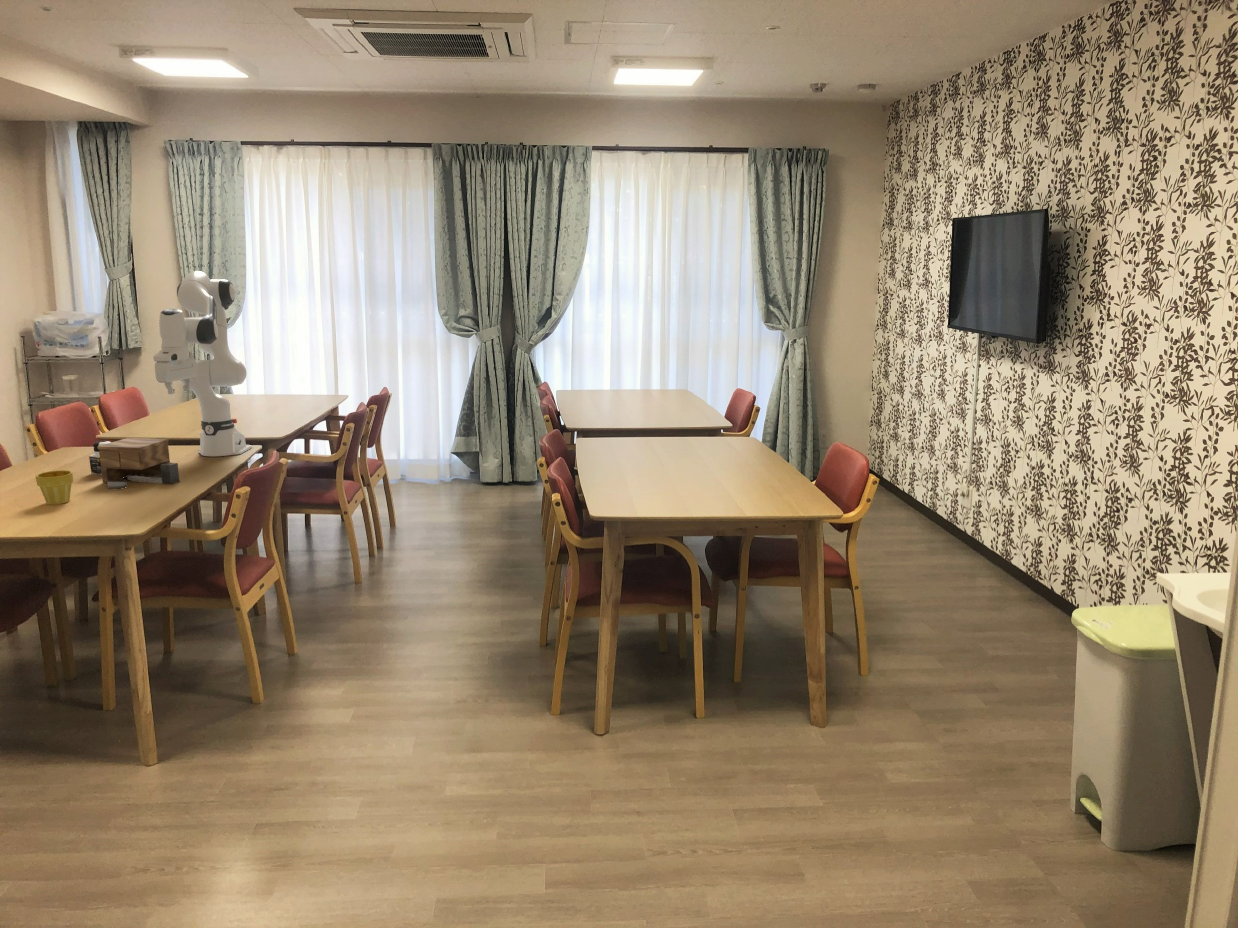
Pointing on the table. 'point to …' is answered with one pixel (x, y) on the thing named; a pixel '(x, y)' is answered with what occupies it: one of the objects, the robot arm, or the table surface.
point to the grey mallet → (167, 475)
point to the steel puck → (117, 484)
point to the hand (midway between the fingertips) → (179, 392)
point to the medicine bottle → (96, 458)
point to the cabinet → (132, 457)
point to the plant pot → (55, 486)
